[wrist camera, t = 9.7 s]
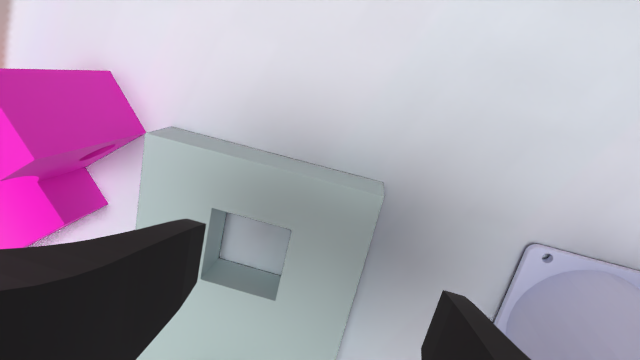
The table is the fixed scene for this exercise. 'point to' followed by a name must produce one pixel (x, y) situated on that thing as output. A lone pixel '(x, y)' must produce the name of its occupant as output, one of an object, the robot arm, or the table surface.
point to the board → (249, 283)
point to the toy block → (55, 147)
